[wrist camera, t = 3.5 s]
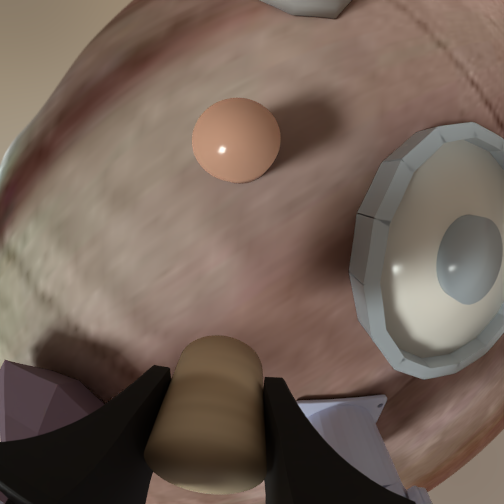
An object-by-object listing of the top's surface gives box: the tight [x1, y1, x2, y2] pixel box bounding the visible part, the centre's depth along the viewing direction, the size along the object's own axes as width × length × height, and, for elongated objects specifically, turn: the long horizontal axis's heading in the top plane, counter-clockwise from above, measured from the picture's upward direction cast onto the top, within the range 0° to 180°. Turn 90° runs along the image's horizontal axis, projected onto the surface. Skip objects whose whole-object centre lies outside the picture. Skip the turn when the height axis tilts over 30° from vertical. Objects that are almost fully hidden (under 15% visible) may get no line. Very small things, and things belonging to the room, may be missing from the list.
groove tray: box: [349, 122, 504, 380], centre depth 15 cm, size 18×18×2 cm
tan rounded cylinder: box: [144, 335, 267, 494], centre depth 8 cm, size 3×3×5 cm
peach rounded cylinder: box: [192, 98, 281, 184], centre depth 12 cm, size 3×3×5 cm
